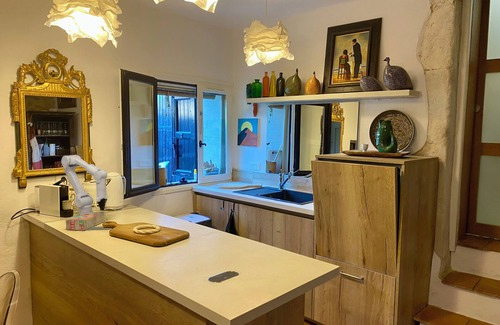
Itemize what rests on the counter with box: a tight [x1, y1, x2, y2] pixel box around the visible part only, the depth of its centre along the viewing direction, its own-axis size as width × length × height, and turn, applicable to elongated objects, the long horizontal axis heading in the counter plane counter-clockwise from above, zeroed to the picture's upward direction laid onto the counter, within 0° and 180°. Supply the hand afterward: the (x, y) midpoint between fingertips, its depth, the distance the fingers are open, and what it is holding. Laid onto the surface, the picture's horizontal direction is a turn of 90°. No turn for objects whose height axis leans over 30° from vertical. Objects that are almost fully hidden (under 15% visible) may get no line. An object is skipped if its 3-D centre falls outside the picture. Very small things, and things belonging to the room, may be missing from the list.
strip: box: [76, 226, 113, 232], centre depth 220 cm, size 6×20×1 cm, turn 95°
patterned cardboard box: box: [65, 211, 106, 231], centre depth 226 cm, size 21×6×12 cm
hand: (102, 210), depth 233 cm, fingers closed
